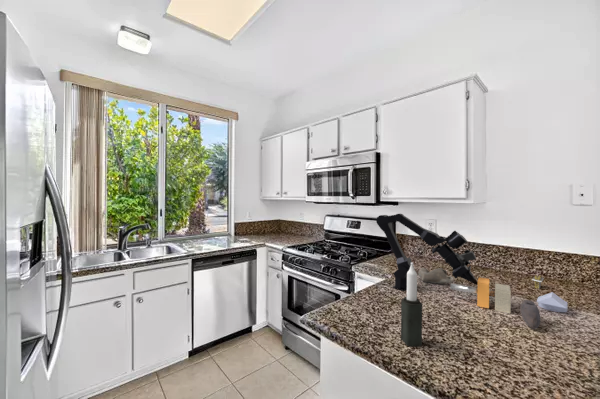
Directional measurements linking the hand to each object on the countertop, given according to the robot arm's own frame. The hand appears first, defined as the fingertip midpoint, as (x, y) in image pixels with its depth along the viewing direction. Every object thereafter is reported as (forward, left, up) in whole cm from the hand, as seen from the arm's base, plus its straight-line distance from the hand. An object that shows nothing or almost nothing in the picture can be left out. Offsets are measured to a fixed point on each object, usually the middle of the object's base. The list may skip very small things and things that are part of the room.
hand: (477, 283), depth 116 cm
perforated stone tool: (-5, -20, -9) cm, 22 cm away
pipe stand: (0, 0, -9) cm, 9 cm away
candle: (-54, -4, -9) cm, 55 cm away
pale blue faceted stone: (+21, -20, -9) cm, 30 cm away
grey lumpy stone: (+15, +27, -9) cm, 32 cm away
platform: (+54, -7, -9) cm, 55 cm away
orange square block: (+1, -2, -9) cm, 9 cm away
